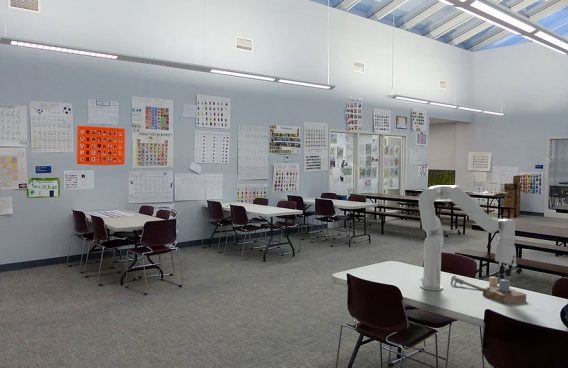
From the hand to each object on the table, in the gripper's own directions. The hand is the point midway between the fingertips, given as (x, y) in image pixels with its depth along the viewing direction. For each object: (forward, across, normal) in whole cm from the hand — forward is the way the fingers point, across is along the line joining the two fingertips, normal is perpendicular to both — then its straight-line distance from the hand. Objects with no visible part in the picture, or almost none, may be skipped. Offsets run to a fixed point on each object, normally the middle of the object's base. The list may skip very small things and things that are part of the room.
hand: (505, 274), depth 237 cm
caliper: (+14, -22, -4) cm, 26 cm away
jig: (+13, 0, 0) cm, 13 cm away
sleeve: (+13, 0, 0) cm, 13 cm away
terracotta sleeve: (+13, -12, +5) cm, 19 cm away
